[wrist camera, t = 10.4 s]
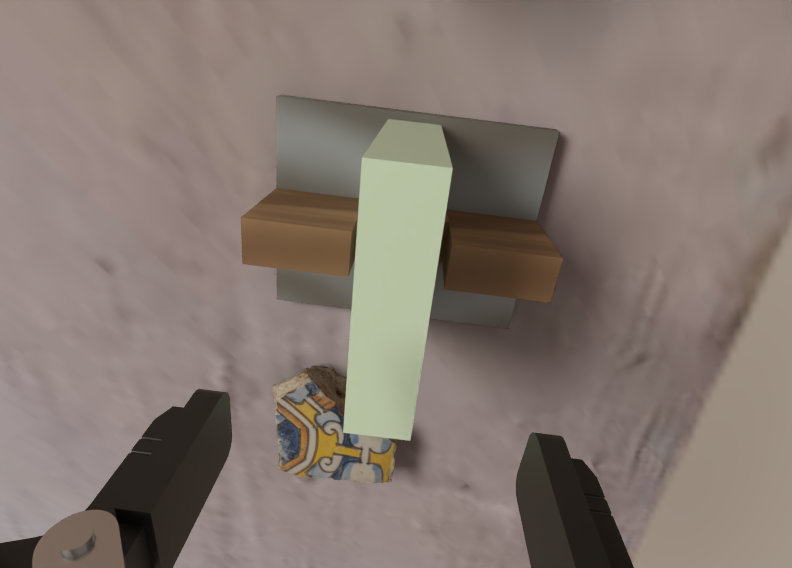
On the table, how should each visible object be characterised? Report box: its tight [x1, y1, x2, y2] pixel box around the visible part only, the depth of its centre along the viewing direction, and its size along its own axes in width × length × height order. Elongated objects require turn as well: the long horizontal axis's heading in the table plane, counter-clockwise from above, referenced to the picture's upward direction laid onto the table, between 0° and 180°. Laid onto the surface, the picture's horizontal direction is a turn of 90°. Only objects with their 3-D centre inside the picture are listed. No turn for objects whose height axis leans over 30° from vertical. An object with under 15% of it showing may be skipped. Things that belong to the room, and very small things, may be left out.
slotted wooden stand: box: [241, 95, 563, 329], centre depth 26 cm, size 13×16×7 cm
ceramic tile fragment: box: [272, 366, 397, 483], centre depth 36 cm, size 12×3×10 cm
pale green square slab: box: [343, 119, 453, 441], centre depth 23 cm, size 12×3×12 cm, turn 174°
